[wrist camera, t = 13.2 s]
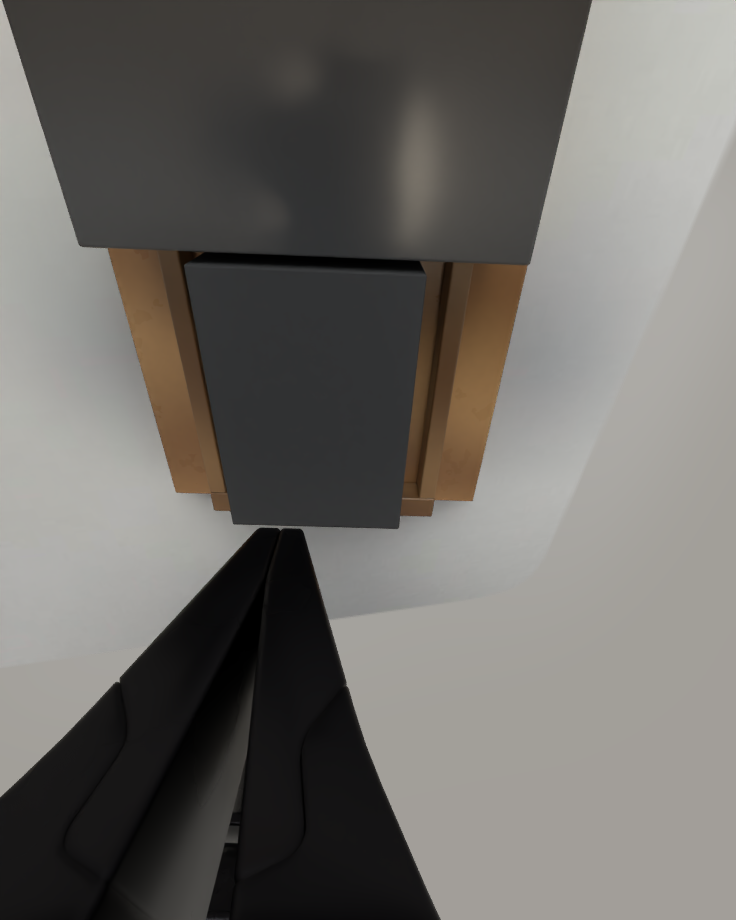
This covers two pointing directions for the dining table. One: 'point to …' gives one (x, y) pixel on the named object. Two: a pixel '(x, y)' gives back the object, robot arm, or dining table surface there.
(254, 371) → the loose pad
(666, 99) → the dining table surface
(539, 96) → the sharpening stone on base
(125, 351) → the dining table surface
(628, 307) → the dining table surface
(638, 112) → the dining table surface
